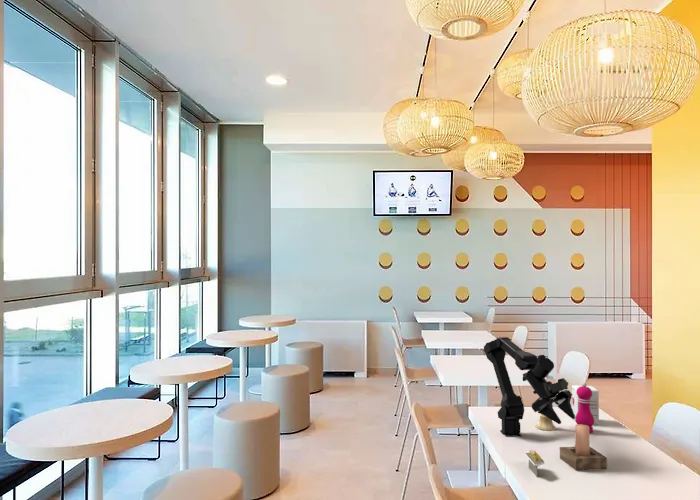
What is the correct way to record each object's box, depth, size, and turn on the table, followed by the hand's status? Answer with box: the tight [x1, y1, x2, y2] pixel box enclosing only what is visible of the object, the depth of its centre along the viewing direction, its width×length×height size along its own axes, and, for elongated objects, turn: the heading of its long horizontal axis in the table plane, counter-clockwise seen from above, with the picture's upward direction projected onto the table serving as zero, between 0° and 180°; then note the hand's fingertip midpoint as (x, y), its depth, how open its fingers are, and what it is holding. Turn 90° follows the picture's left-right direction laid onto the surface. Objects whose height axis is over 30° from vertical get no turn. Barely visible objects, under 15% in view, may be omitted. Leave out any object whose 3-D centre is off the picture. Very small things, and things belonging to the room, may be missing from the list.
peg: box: [574, 423, 591, 456], centre depth 182 cm, size 4×4×13 cm
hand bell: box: [535, 414, 557, 432], centre depth 221 cm, size 8×8×16 cm
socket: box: [559, 446, 608, 472], centre depth 182 cm, size 11×11×4 cm
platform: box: [524, 449, 545, 478], centre depth 175 cm, size 12×18×7 cm, turn 179°
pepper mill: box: [574, 382, 594, 434], centre depth 217 cm, size 7×7×20 cm
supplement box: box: [571, 384, 600, 426], centre depth 229 cm, size 9×9×15 cm
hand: (567, 420), depth 186 cm, fingers open, 9 cm apart
